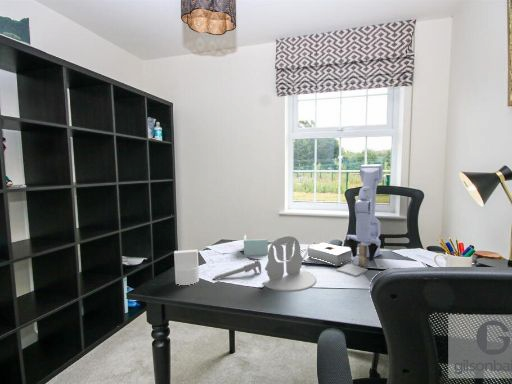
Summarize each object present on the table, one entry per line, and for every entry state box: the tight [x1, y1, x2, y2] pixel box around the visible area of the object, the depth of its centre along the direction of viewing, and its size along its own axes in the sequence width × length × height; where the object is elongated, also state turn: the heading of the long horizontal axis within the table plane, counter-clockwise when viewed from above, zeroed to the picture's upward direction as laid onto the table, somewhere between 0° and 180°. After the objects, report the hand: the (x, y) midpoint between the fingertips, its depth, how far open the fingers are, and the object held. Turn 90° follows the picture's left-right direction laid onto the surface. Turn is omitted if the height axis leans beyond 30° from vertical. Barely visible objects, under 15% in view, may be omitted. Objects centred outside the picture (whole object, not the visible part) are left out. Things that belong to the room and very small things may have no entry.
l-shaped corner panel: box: [243, 234, 269, 256], centre depth 145 cm, size 12×12×8 cm
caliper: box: [212, 258, 262, 280], centre depth 112 cm, size 20×1×6 cm, turn 107°
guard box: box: [307, 242, 353, 267], centre depth 131 cm, size 12×16×5 cm
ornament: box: [261, 235, 317, 292], centre depth 104 cm, size 22×13×17 cm, turn 122°
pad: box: [336, 263, 368, 277], centre depth 116 cm, size 9×9×1 cm
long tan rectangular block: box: [358, 243, 368, 267], centre depth 121 cm, size 2×2×9 cm
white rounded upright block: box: [173, 248, 200, 286], centre depth 109 cm, size 9×9×12 cm
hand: (362, 258), depth 121 cm, fingers open, 7 cm apart
